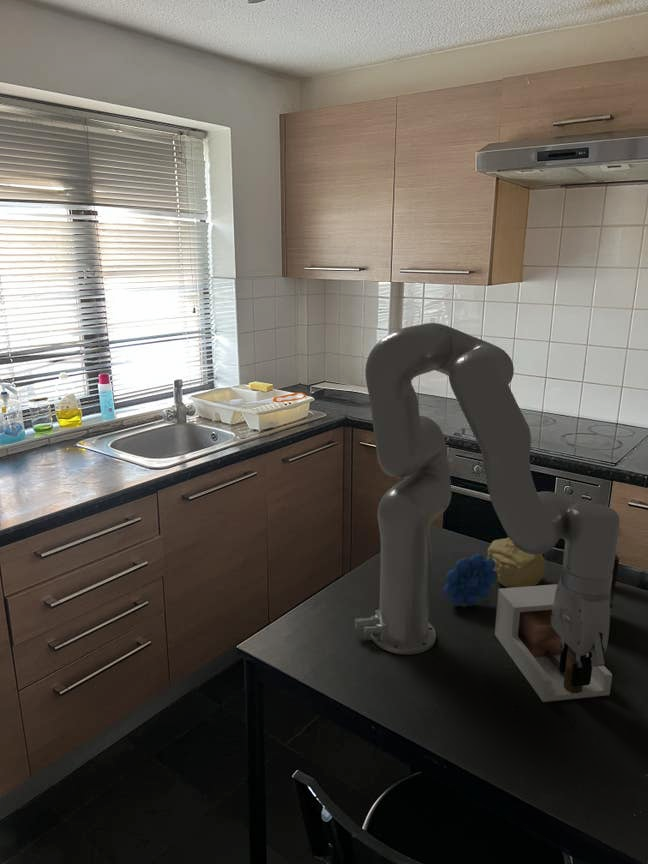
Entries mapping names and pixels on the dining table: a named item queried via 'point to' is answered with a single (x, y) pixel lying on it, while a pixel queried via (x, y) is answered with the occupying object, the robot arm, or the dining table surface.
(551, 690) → the shelf lane
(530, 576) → the sculpture
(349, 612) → the dining table surface
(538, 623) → the wooden mallet
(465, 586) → the grapes
